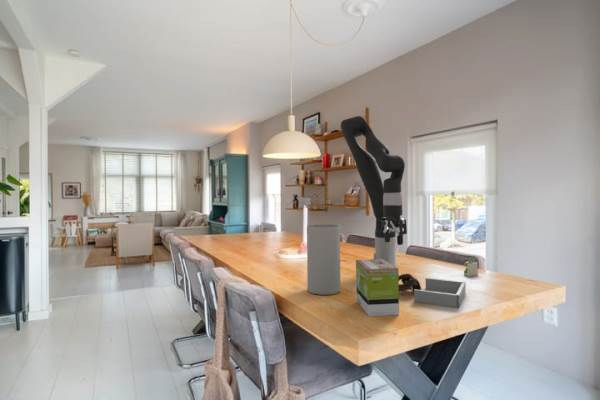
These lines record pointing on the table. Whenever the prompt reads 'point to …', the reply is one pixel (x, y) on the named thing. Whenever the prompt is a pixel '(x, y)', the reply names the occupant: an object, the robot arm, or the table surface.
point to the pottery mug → (408, 283)
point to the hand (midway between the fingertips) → (393, 243)
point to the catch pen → (439, 297)
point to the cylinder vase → (323, 259)
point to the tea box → (377, 287)
